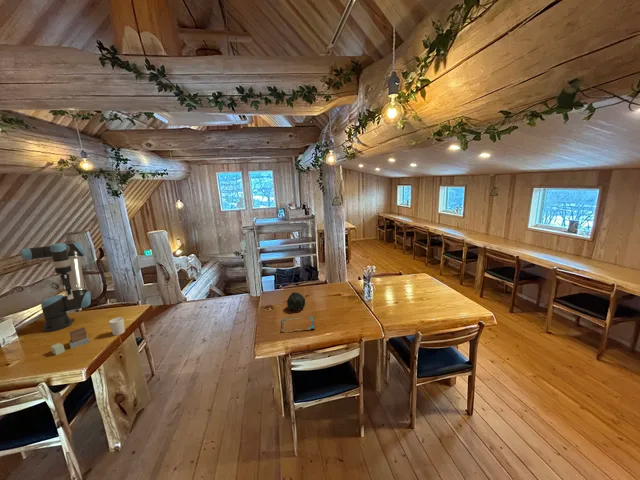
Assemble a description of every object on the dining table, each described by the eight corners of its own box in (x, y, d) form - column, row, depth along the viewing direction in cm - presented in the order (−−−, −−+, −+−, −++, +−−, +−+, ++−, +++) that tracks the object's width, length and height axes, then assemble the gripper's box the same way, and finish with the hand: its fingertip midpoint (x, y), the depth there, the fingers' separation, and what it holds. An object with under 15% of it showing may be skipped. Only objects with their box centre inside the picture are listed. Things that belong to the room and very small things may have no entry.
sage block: (52, 352, 159) (50, 346, 158) (60, 349, 162) (59, 342, 162) (56, 355, 156) (54, 348, 155) (65, 351, 160) (63, 345, 159)
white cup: (124, 328, 185) (121, 316, 183) (127, 332, 180) (124, 319, 178) (110, 333, 179) (107, 320, 177) (113, 337, 174) (110, 323, 172)
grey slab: (70, 345, 167) (69, 340, 167) (88, 339, 174) (87, 334, 173) (70, 349, 162) (69, 344, 162) (89, 343, 169) (88, 338, 168)
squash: (310, 299, 211) (298, 286, 211) (305, 307, 197) (292, 293, 196) (299, 308, 215) (286, 295, 215) (293, 317, 201) (280, 304, 201)
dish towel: (315, 331, 173) (315, 327, 173) (280, 334, 171) (280, 330, 171) (313, 318, 190) (313, 315, 190) (281, 321, 188) (281, 318, 188)
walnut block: (71, 340, 167) (69, 331, 166) (85, 335, 172) (83, 327, 171) (73, 342, 164) (70, 334, 162) (87, 337, 169) (85, 329, 168)
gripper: (53, 264, 175) (60, 294, 179) (56, 271, 158) (63, 303, 162) (68, 262, 180) (74, 290, 184) (72, 268, 164) (79, 299, 168)
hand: (69, 296), depth 173 cm, fingers open, 13 cm apart
